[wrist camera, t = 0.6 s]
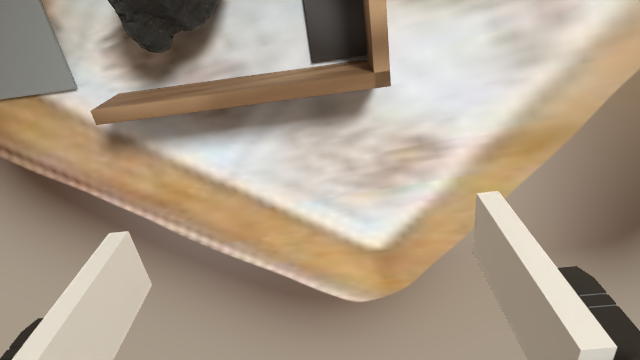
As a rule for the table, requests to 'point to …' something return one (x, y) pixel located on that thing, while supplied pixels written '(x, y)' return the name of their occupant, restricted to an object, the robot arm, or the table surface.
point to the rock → (161, 19)
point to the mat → (30, 52)
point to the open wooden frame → (325, 42)
